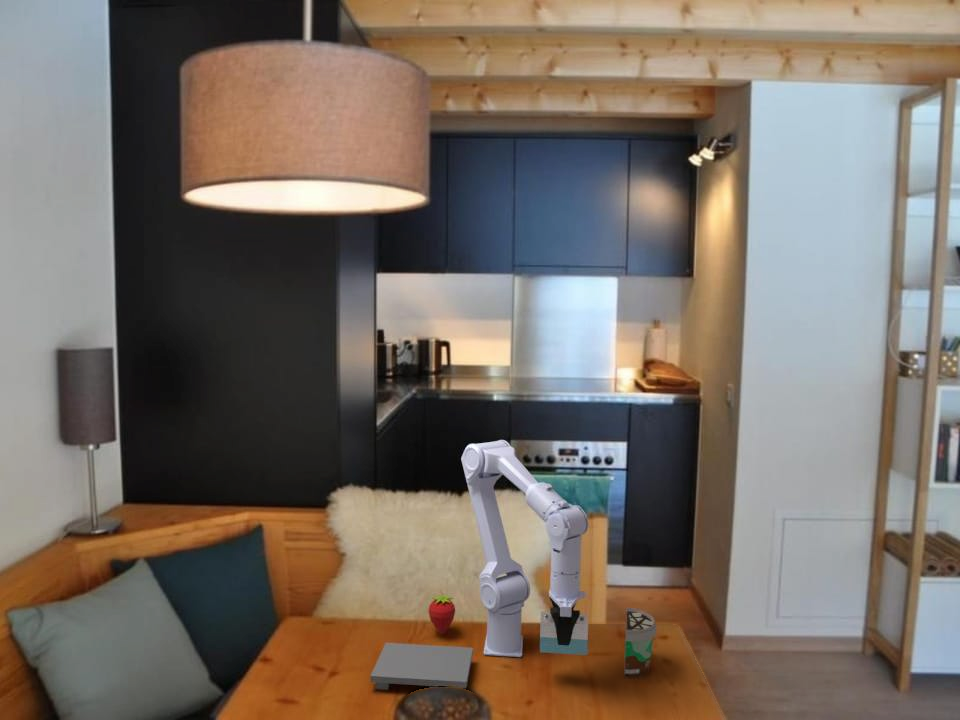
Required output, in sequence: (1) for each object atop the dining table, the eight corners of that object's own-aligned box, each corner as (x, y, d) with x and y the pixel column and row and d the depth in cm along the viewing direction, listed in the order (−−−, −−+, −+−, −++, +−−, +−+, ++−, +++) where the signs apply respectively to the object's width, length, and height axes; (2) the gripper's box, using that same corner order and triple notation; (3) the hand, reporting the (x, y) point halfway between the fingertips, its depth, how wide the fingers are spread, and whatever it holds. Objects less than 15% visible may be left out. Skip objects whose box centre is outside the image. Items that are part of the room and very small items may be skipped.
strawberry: (426, 641, 160) (427, 596, 159) (429, 626, 167) (430, 583, 167) (454, 642, 160) (454, 597, 159) (455, 627, 167) (456, 584, 167)
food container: (656, 684, 144) (658, 634, 143) (624, 680, 145) (626, 630, 144) (654, 655, 156) (656, 609, 155) (624, 652, 157) (626, 606, 156)
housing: (539, 640, 147) (540, 609, 147) (585, 643, 146) (586, 612, 146) (539, 652, 142) (540, 620, 142) (587, 654, 141) (588, 622, 141)
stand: (385, 656, 152) (385, 642, 152) (472, 662, 151) (472, 647, 151) (370, 691, 138) (370, 675, 138) (465, 697, 137) (466, 682, 137)
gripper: (588, 584, 136) (586, 656, 137) (584, 558, 150) (581, 623, 151) (550, 582, 136) (548, 654, 137) (549, 556, 151) (547, 621, 152)
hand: (563, 638), depth 144 cm, fingers closed on housing, 5 cm apart
